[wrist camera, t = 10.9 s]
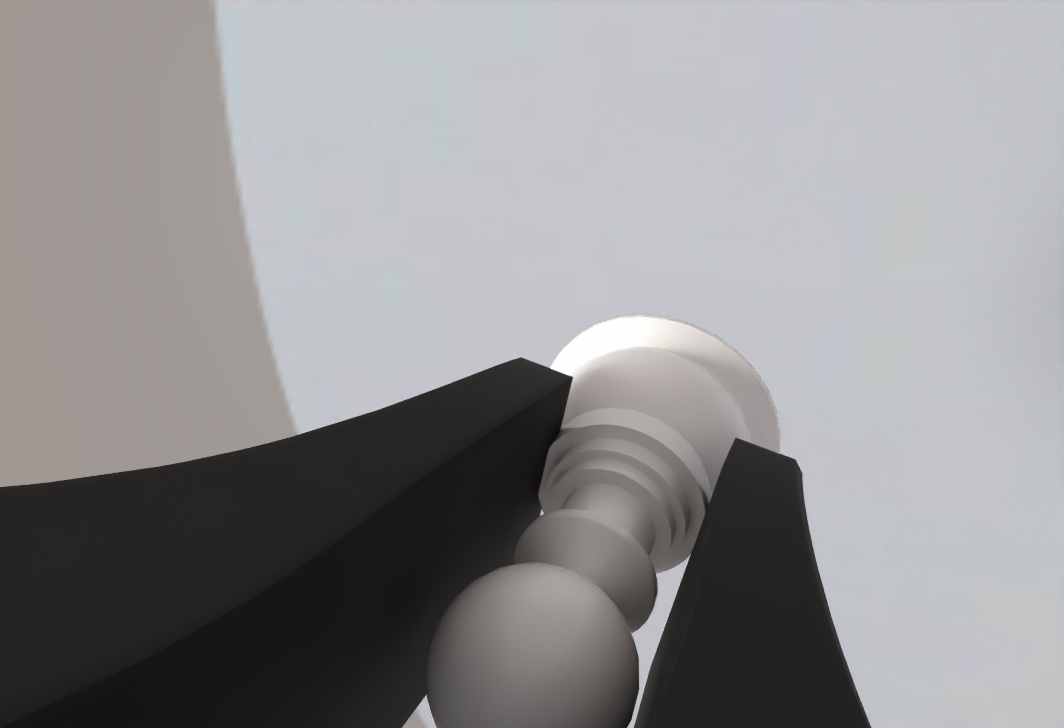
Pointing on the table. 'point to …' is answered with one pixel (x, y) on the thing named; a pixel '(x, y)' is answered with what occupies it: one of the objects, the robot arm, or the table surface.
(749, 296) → the table surface
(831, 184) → the table surface
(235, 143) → the table surface
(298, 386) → the table surface
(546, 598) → the chess pawn
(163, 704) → the robot arm
